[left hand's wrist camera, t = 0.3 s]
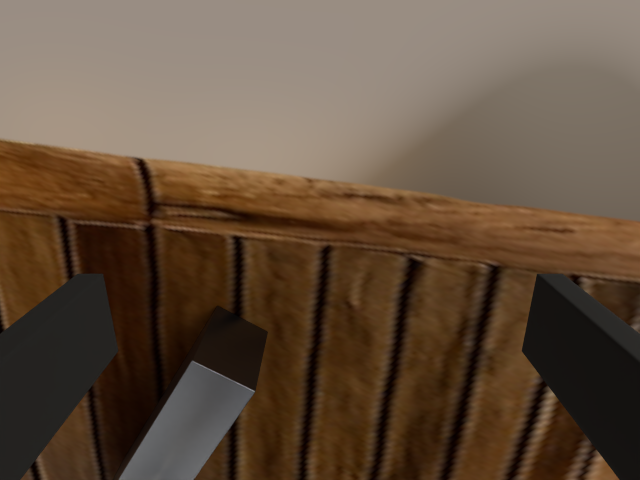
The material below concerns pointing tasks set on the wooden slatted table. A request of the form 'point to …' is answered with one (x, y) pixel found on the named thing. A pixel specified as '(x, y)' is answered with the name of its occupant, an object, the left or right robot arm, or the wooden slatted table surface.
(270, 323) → the wooden slatted table surface
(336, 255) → the wooden slatted table surface
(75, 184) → the wooden slatted table surface
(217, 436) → the box
